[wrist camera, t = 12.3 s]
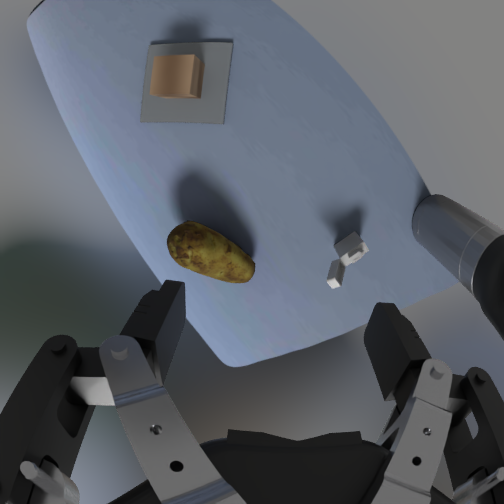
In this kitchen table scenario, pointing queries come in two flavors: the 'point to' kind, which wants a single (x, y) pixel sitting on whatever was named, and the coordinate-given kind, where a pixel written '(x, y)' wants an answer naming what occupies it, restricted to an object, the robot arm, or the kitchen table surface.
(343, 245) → the lighter
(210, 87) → the coaster
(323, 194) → the kitchen table surface
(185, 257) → the potato
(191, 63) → the block
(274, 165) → the kitchen table surface
